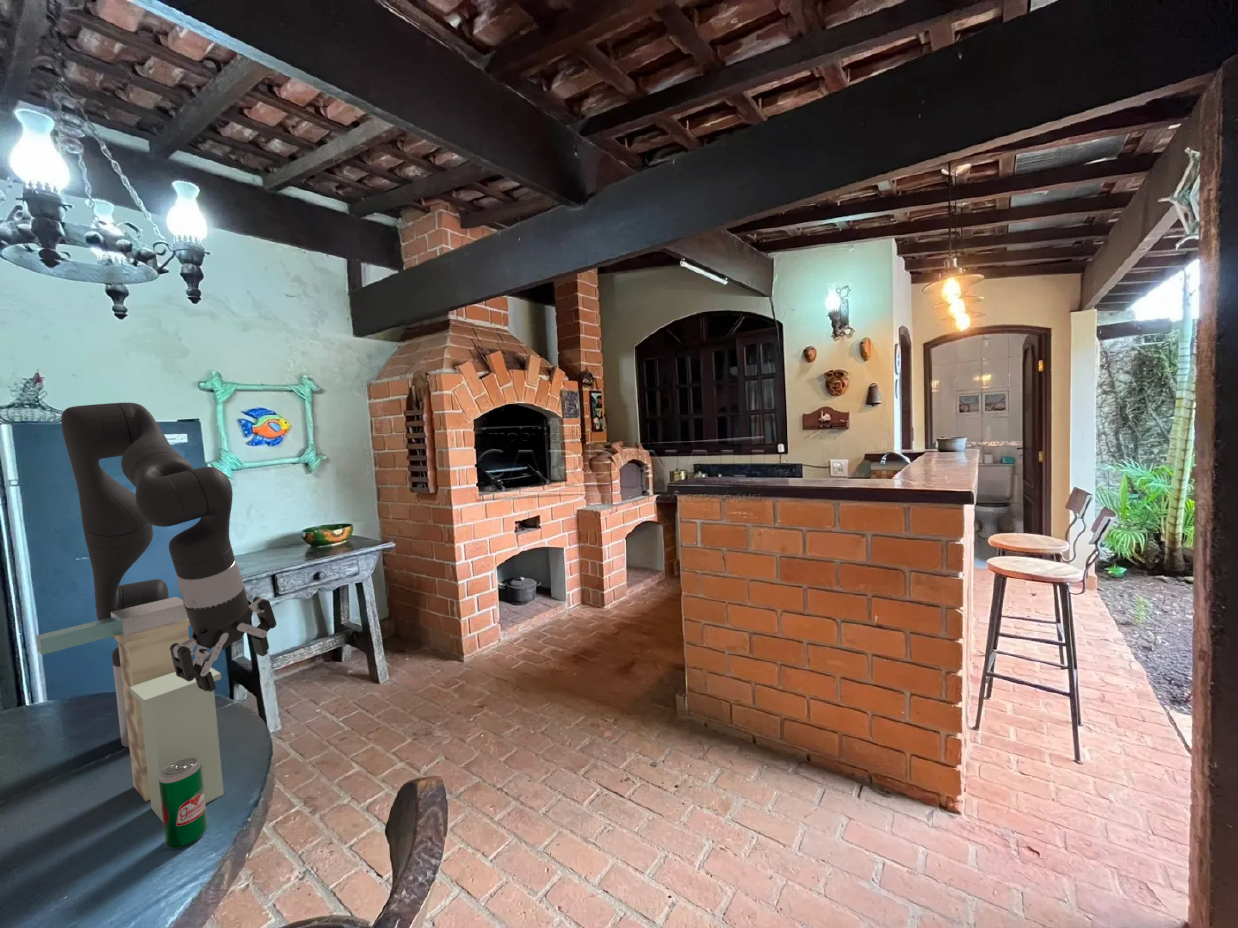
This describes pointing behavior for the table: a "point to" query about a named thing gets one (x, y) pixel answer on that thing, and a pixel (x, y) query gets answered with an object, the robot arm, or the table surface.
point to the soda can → (183, 802)
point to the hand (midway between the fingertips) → (236, 670)
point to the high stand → (139, 664)
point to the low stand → (179, 731)
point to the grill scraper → (116, 625)
